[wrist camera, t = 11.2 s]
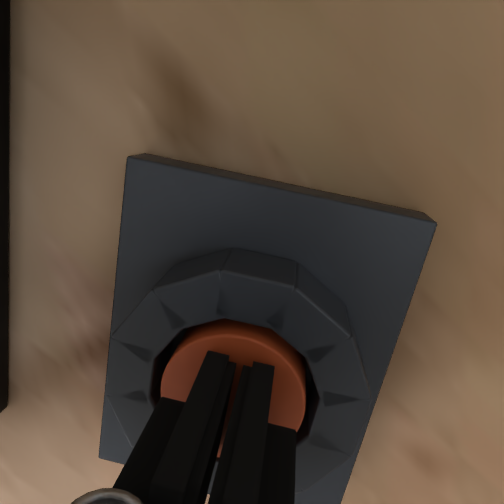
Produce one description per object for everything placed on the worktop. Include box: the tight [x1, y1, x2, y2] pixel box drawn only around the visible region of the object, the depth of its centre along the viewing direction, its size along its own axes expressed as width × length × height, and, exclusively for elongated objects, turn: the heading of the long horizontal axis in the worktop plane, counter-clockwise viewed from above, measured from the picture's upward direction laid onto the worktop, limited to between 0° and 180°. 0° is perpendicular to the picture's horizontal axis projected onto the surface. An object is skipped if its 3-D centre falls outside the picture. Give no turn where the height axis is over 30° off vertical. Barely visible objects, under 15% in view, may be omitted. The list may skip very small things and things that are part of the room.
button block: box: [99, 153, 437, 504], centre depth 12 cm, size 10×8×3 cm
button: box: [161, 318, 306, 457], centre depth 11 cm, size 4×4×2 cm
